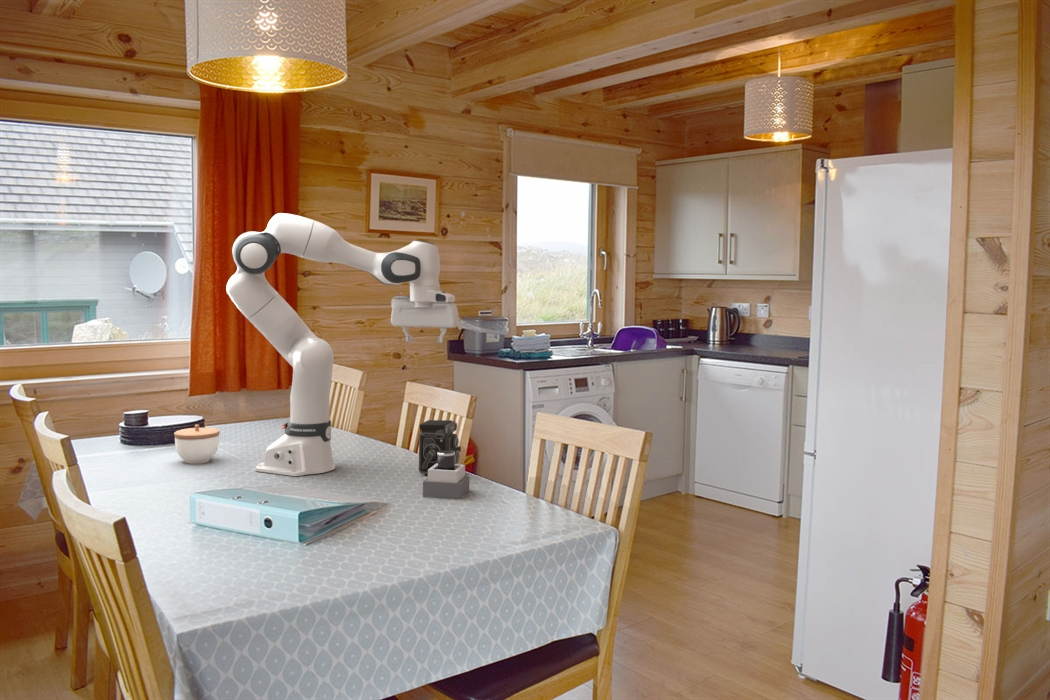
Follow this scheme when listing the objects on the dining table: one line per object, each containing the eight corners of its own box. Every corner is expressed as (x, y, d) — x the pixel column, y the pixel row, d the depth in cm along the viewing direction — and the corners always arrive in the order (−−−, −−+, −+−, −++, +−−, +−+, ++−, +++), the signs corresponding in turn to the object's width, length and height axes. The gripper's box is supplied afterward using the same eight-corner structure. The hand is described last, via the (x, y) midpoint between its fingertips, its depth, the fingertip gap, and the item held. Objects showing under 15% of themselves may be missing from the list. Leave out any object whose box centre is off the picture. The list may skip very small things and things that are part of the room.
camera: (452, 478, 225) (453, 426, 224) (417, 476, 228) (417, 424, 226) (462, 470, 236) (463, 419, 234) (428, 468, 238) (429, 418, 236)
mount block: (422, 496, 206) (422, 470, 205) (433, 488, 215) (433, 462, 214) (460, 499, 204) (460, 472, 204) (469, 490, 213) (469, 464, 212)
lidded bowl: (165, 463, 238) (164, 426, 237) (197, 455, 250) (196, 420, 249) (198, 467, 233) (197, 430, 232) (229, 459, 245) (228, 423, 244)
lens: (435, 479, 208) (434, 453, 207) (440, 475, 212) (440, 449, 212) (452, 480, 207) (451, 454, 206) (457, 476, 211) (457, 450, 211)
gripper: (387, 295, 236) (387, 342, 238) (454, 296, 233) (454, 344, 234) (395, 295, 243) (395, 340, 244) (460, 296, 239) (459, 342, 240)
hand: (424, 342), depth 239 cm, fingers open, 8 cm apart
